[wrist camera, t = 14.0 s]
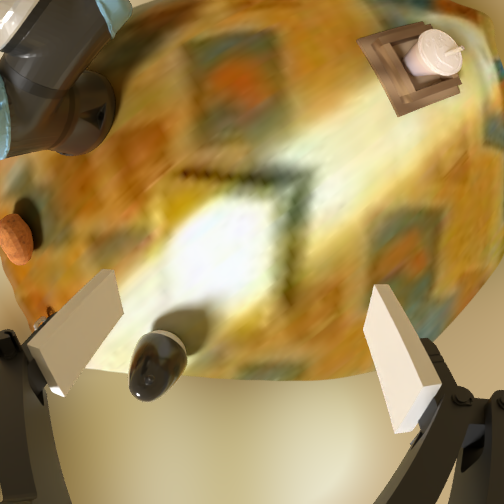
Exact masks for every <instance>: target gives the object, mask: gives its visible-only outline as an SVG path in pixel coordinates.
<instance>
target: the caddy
mask: <svg viewBox="0 0 504 504" xmlns="http://www.w3.org/2000/svg"><path fill="white" fill-rule="evenodd" d="M429 29H433V28H432V26H431V24H428V25H424V23H423V22H418V23H413V24H409V25H405V26H401V27H397V28H394V29H390V30H386V31H383V32H380V33H376V34H373V35H370V36H367V37H363V38H360V39H357V41H356V42H357V43H358V45H359V46H360V48H361V50H362V51H363V53H364V54H365V56H366V58H367V59H368V61H369V63H370V65H371V66H372V68H373V70H374V72H375V73H376V75H377V77H378V79H379V81H380V83H381V84H382V86H383V88H384V90H385V92H386V94H387V96H388V98H389V100H390V102H391V104H392V106H393V108H394V110H395V112H396V114H397V117H400V116H402V115H405V114H407V113H410V112H412V111H415V110H417V109H420V108H422V107H425V106H427V105H430V104H433V103H435V102H438V101H440V100H443V99H446V98H448V97H451V96H454V95H456V94H459V93H460V92H459V89H458V87H457V86H458V85H461V84H462V83H461V80H460V78H459V76H458V74H457V73H455V74H453V75H450V76H443V75H440V74H436V75H425V76H412V75H410V74H408V73H407V72H406V71H405V69H404V67H403V64H402V60H403V58H404V56H405V55H406V54H407V53H408V52H409V51H410V50H411V48H412V47H413V46H414V45H415V44H416V43H417V42H418V39H419V36H420V35H421V33H423V32H425V31H427V30H429Z"/></svg>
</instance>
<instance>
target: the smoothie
mask: <svg viewBox="0 0 504 504" xmlns="http://www.w3.org/2000/svg"><path fill="white" fill-rule="evenodd" d="M464 49H465V48H464V46H459V47H458V45H457V44H456V42H455V41H454V40H453V39H452V38H451V37H450V36H449V35H448V34H446V33H445V32H443V31H441V30H438V29H429V30H427V31H425V32H423V33H421V35H420V36H419V39H418V42H417V43H416V44H415V45H414V46H413V47H412V48H411V50H410V51H409V52H408V53H407V54H406V55H405V56H404V58H403V60H402V64H403V67H404V69H405V71H406V72H407V73H408V74H410V75H412V76H425V75H436V74H440V75H443V76H450V75H453V74H455V73H457V72H458V71H459V70H460V69H461V66H462V54H461V51H462V50H464Z"/></svg>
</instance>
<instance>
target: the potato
mask: <svg viewBox="0 0 504 504" xmlns="http://www.w3.org/2000/svg"><path fill="white" fill-rule="evenodd" d="M0 245H1V247H2V249H3V250H4V252H5V253H6V255H7V256H8V258H9V259H10V260H11V262H13V263H14V264H16V265H24V264H26V263H27V262H28V261H29V260H30V259H31V256H32V252H33V239H32V234H31V230H30V228H29V226H28V225H27V224H26V223H25V222H24V221H23V219H22V218H21V217H20V216H19V215H18V214H9V215H7V216H5V217H4V218H3V219H1V220H0Z"/></svg>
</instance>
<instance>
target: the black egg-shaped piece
mask: <svg viewBox="0 0 504 504" xmlns="http://www.w3.org/2000/svg"><path fill="white" fill-rule="evenodd" d="M186 365H187V354H186V349H185V346H184V344H183V343H182V341H181V340H180V339H179V338H178V337H177V336H176V335H174V334H172V333H170V332H168V331H164V330H156V331H152V332H150V333H148V334H145V335H143V336H142V337H141V338H140V339H139V341H138V342H137V344H136V346H135V349H134V351H133V354H132V357H131V361H130V366H129V372H128V384H129V389H130V392H131V393H132V395H133V396H134V397H135V398H136V399H138V400H140V401H142V402H151V401H154V400H157V399H158V398H160V397H161V396H163V395H164V394H165V393H166V392H167V391H168V390H169V389H170V388H171V387H172V386H173V385H174V384H175V383H176V382H177V380H178V379H179V378H180V376H181V375H182V373H183V372H184V370H185V368H186Z"/></svg>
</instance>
